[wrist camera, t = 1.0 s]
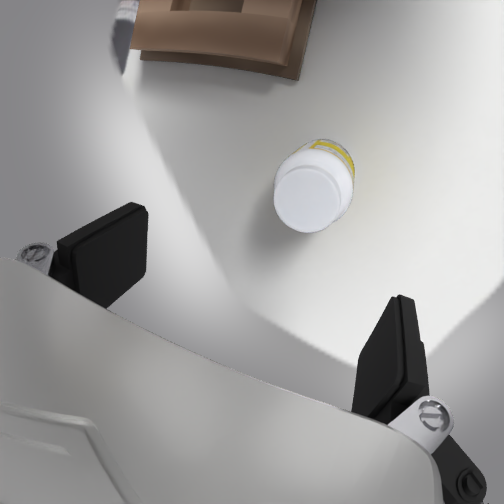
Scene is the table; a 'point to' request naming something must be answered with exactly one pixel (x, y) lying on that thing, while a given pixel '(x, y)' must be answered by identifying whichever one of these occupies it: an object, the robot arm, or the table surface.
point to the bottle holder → (226, 33)
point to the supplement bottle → (314, 186)
